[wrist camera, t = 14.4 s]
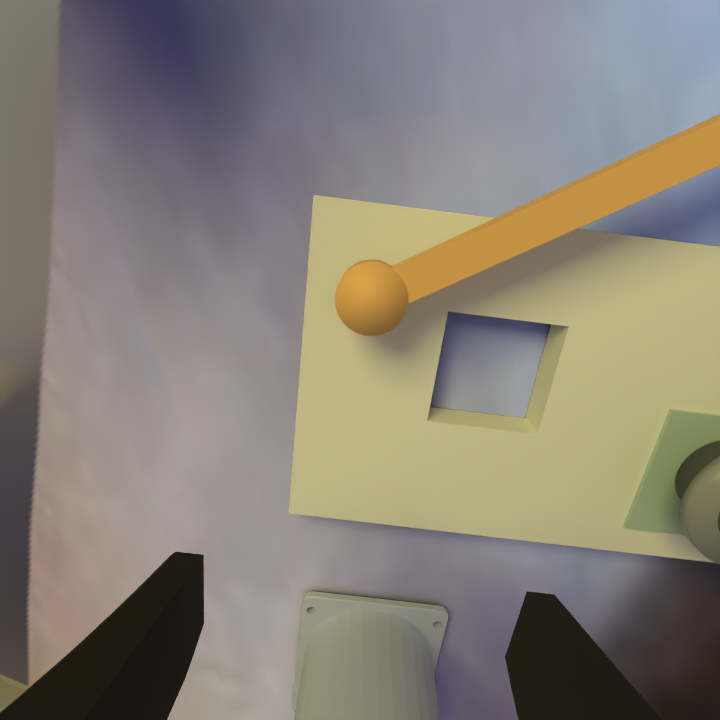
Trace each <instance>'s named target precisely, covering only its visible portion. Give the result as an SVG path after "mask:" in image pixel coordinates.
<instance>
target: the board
mask: <svg viewBox="0 0 720 720" xmlns="http://www.w3.org/2000/svg"><path fill="white" fill-rule="evenodd" d="M492 219H494V218H490V217H482V216H474V215H466V214H459V213H451V212H443V211H435V210H427V209H419V208H412V207H404V206H396V205H388V204H380V203H372V202H365V201H357V200H349V199H341V198H333V197H325V196H317V195H314V197H313V210H312V223H311V236H310V249H309V261H308V274H307V287H306V300H305V313H304V326H303V338H302V351H301V364H300V377H299V390H298V403H297V416H296V428H295V441H294V454H293V467H292V480H291V493H290V505H289V513H290V514H299V515H308V516H316V517H325V518H333V519H342V520H351V521H359V522H368V523H376V524H385V525H394V526H402V527H411V528H420V529H428V530H437V531H445V532H454V533H463V534H471V535H480V536H489V537H497V538H506V539H514V540H523V541H532V542H540V543H549V544H558V545H566V546H575V547H583V548H592V549H601V550H609V551H618V552H626V553H635V554H644V555H652V556H661V557H670V558H678V559H687V560H695V561H704V562H713V561H711V560H709V559H708V558H706V557H705V556H704V555H703V554H702V553H701V552H700V551H699V550H698V549H697V548H696V547H695V546H694V545H693V544H692V543H691V542H690V541H689V540H688V539H687V538H686V536H685V535H684V533H683V531H682V528H681V525H680V520H679V511H680V504H681V501H682V500H681V499H680V498H679V497H678V495H677V493H676V489H675V478H676V475H677V472H678V470H679V468H680V466H681V465H682V463H683V462H684V461H685V459H686V458H687V457H688V456H689V455H691V454H692V453H693V452H694V451H696V450H697V449H699V448H701V447H702V446H704V445H707V444H709V443H712V442H715V441H719V440H720V247H717V246H709V245H702V244H694V243H686V242H678V241H670V240H662V239H654V238H647V237H639V236H631V235H623V234H615V233H607V232H600V231H592V230H584V229H575V230H573V231H570V232H568V233H566V234H564V235H561V236H559V237H557V238H555V239H552V240H550V241H548V242H546V243H543V244H541V245H539V246H537V247H534V248H532V249H530V250H528V251H525V252H523V253H521V254H519V255H516V256H514V257H512V258H510V259H507V260H505V261H503V262H501V263H498V264H496V265H494V266H492V267H489V268H487V269H485V270H483V271H480V272H478V273H476V274H474V275H471V276H469V277H467V278H465V279H462V280H460V281H458V282H456V283H453V284H451V285H449V286H447V287H444V288H442V289H440V290H438V291H435V292H433V293H431V294H429V295H426V296H424V297H422V298H420V299H417V300H415V301H413V302H411V303H408V306H407V310H406V313H405V315H404V317H403V319H402V320H401V322H400V323H399V324H398V325H397V326H396V327H395V328H394V329H392V330H391V331H389V332H387V333H385V334H382V335H378V336H365V335H361V334H358V333H356V332H354V331H352V330H350V329H349V328H348V327H347V326H346V325H345V324H344V323H343V322H342V321H341V319H340V317H339V316H338V313H337V311H336V307H335V293H336V289H337V286H338V284H339V282H340V280H341V278H342V276H343V275H344V273H345V272H346V271H347V270H348V269H349V268H350V267H351V266H353V265H354V264H356V263H358V262H360V261H364V260H370V259H371V260H380V261H383V262H385V263H387V264H389V265H391V266H393V265H395V264H397V263H399V262H401V261H403V260H406V259H408V258H410V257H412V256H414V255H416V254H419V253H421V252H423V251H425V250H427V249H429V248H431V247H434V246H436V245H438V244H440V243H442V242H444V241H447V240H449V239H451V238H453V237H455V236H457V235H460V234H462V233H464V232H466V231H468V230H470V229H473V228H475V227H477V226H479V225H481V224H483V223H485V222H488V221H490V220H492ZM448 312H456V313H464V314H472V315H481V316H489V317H497V318H505V319H513V320H521V321H529V322H537V323H545V324H551V326H550V330H549V333H548V337H547V340H546V344H545V348H544V351H543V355H542V359H541V362H540V366H539V369H538V373H537V377H536V380H535V384H534V388H533V391H532V395H531V398H530V402H529V406H528V409H527V413H526V416H525V419H524V418H516V417H508V416H499V415H491V414H483V413H475V412H466V411H458V410H450V409H441V408H433V407H430V404H431V398H432V393H433V388H434V383H435V378H436V372H437V367H438V362H439V357H440V352H441V346H442V341H443V336H444V331H445V325H446V320H447V315H448ZM713 563H715V562H713Z"/></svg>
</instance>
